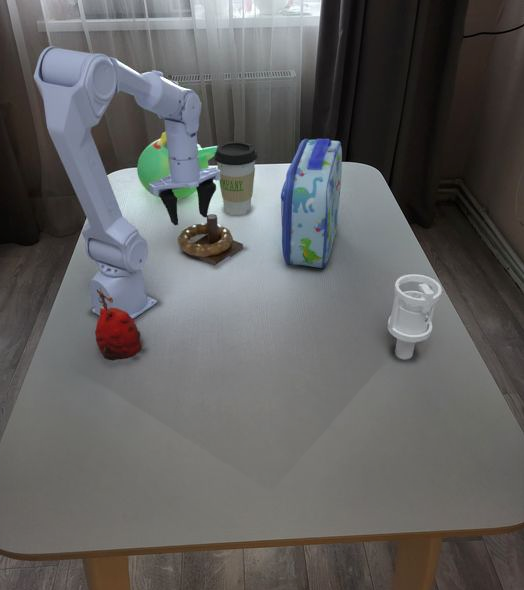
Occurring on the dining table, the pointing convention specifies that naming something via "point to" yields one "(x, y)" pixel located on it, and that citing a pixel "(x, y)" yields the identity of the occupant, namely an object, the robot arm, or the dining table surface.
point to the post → (213, 238)
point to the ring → (204, 249)
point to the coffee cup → (236, 175)
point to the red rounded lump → (116, 332)
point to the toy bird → (166, 164)
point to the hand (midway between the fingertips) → (189, 219)
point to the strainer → (412, 313)
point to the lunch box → (311, 203)
